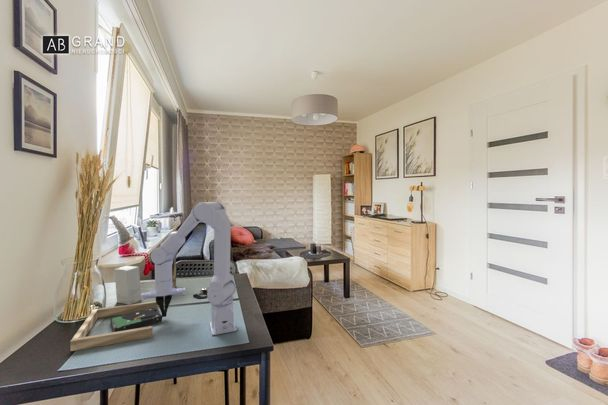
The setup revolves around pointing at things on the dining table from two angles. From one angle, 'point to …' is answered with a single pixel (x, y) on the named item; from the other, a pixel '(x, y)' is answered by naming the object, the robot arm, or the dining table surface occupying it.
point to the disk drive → (135, 320)
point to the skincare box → (128, 284)
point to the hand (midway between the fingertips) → (164, 315)
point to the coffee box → (174, 273)
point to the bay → (115, 337)
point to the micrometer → (203, 291)
